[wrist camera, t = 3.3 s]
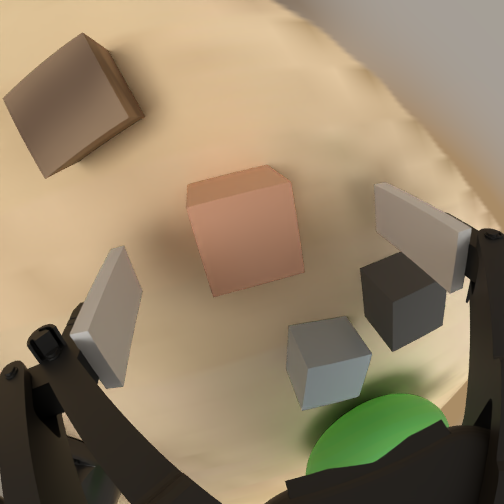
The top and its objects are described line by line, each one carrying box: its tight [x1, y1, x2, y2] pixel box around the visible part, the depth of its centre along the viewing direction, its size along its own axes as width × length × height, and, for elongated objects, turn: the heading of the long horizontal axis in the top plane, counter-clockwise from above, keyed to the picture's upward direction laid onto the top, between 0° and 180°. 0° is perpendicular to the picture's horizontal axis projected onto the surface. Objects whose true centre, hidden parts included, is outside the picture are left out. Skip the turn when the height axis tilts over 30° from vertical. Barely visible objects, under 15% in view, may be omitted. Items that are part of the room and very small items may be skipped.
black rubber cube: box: [360, 252, 446, 352], centre depth 23 cm, size 5×5×5 cm
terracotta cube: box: [186, 165, 305, 297], centre depth 18 cm, size 5×5×5 cm
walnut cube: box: [3, 33, 145, 179], centre depth 13 cm, size 5×5×5 cm
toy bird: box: [306, 394, 449, 475], centre depth 27 cm, size 18×17×15 cm
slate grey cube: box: [286, 316, 372, 411], centre depth 24 cm, size 5×5×5 cm
